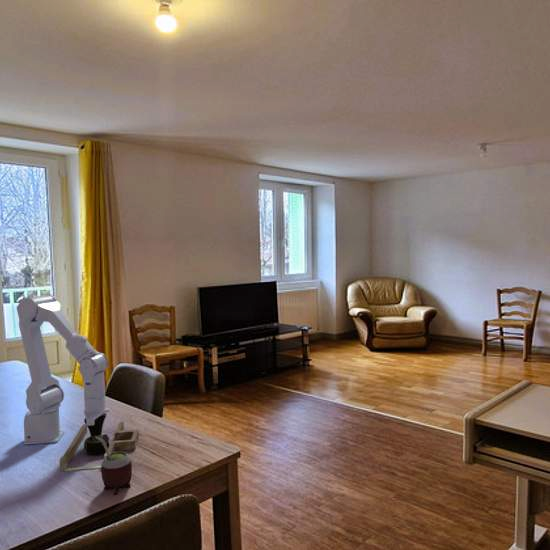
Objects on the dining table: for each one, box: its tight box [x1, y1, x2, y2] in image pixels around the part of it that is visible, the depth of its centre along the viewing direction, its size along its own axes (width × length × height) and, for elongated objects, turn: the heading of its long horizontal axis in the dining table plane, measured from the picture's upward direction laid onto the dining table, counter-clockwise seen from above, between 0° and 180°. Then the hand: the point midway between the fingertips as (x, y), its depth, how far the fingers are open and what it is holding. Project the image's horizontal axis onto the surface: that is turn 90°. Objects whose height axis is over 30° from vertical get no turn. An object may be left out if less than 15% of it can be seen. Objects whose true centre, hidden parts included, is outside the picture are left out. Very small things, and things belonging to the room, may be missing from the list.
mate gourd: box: [95, 437, 133, 496], centre depth 113 cm, size 8×8×15 cm
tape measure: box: [83, 433, 110, 455], centre depth 134 cm, size 7×7×4 cm
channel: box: [59, 421, 140, 472], centre depth 136 cm, size 18×26×3 cm
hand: (96, 440), depth 138 cm, fingers closed
